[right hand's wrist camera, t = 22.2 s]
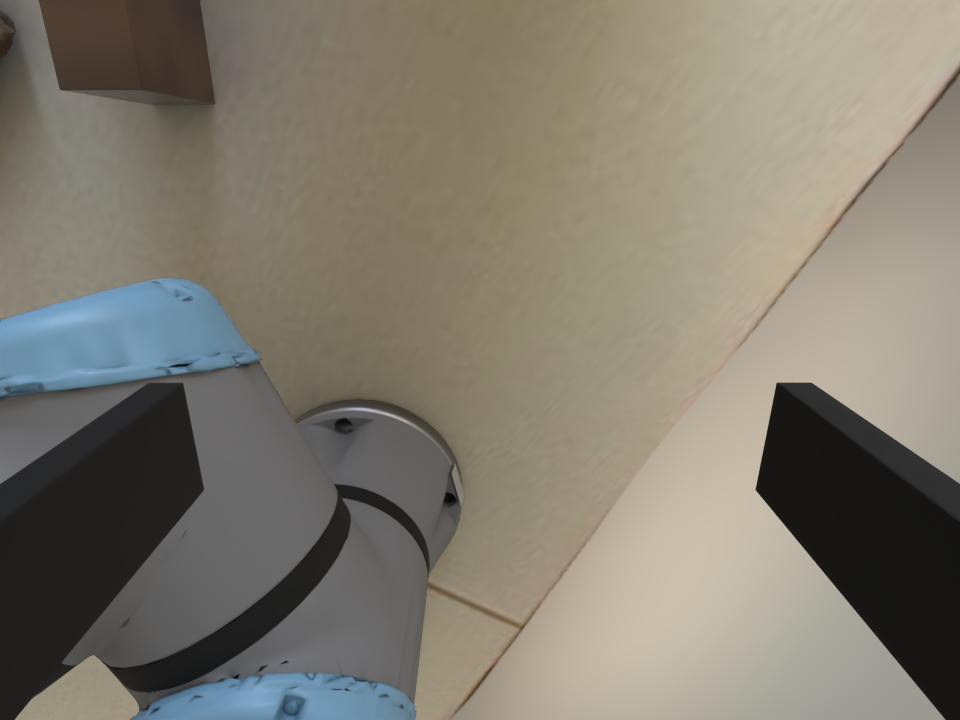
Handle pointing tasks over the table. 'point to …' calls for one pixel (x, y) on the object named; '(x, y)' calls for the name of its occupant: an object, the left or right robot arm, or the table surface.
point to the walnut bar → (130, 49)
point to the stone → (5, 33)
